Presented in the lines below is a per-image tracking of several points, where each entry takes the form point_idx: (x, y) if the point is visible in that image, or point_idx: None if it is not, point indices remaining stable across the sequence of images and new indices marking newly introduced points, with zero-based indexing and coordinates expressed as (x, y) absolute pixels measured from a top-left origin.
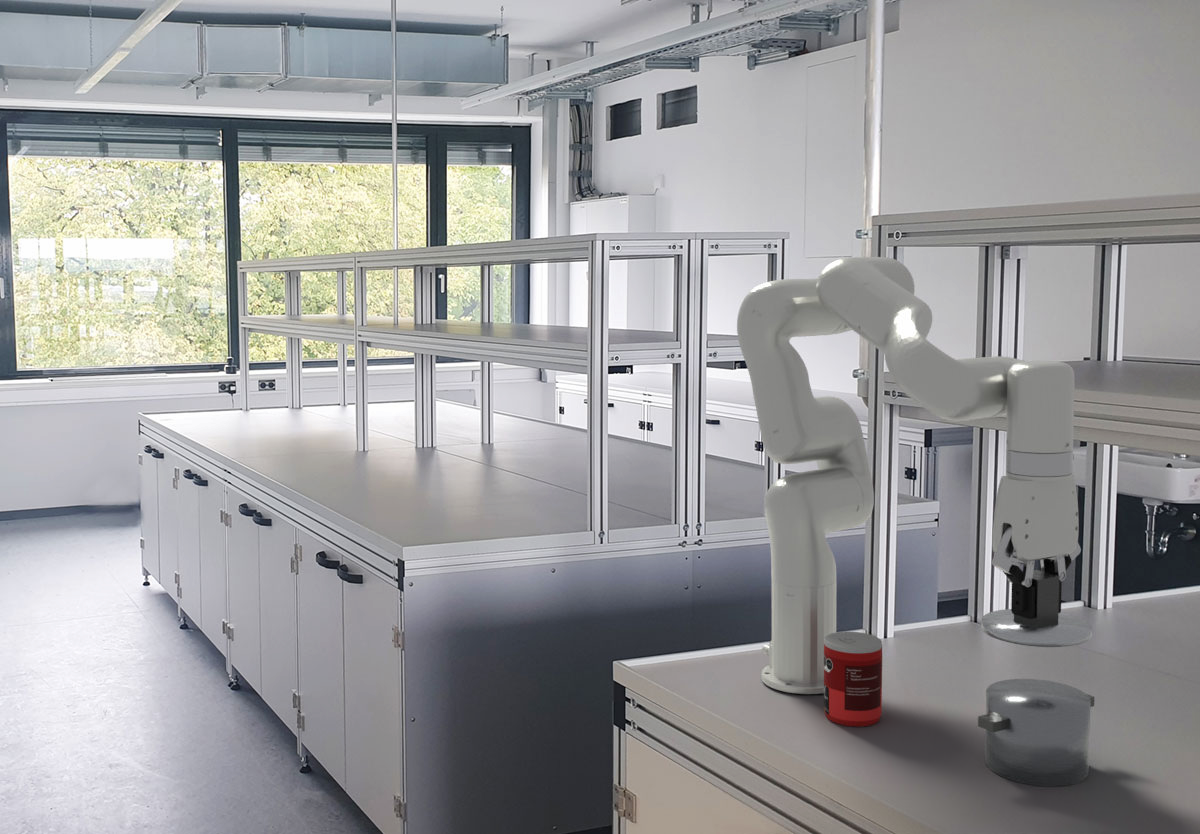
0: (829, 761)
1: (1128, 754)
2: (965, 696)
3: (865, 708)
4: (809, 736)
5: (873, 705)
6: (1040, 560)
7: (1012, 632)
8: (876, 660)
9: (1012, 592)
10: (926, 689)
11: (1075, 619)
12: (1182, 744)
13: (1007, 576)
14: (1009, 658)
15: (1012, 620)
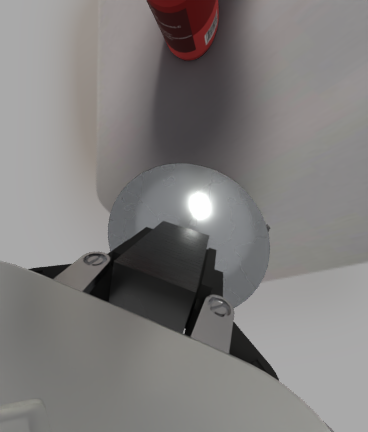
0: (110, 96)
1: (273, 243)
2: (329, 64)
3: (174, 48)
4: (130, 42)
5: (182, 49)
6: (193, 331)
7: (117, 242)
8: (172, 8)
9: (112, 250)
10: (325, 12)
11: (241, 287)
12: (322, 265)
13: (62, 267)
14: None
15: (167, 216)
